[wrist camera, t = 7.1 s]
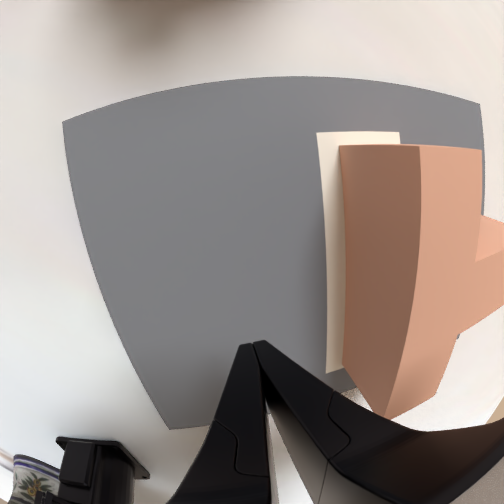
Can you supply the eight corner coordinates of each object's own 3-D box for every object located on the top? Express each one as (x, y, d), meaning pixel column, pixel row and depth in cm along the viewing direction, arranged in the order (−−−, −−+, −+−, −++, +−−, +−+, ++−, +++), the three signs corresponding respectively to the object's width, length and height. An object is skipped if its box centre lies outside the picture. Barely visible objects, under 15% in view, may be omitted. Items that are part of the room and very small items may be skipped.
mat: (455, 335, 18) (458, 338, 17) (169, 423, 15) (169, 429, 15) (474, 104, 12) (479, 104, 11) (67, 122, 9) (62, 121, 8)
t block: (458, 313, 16) (501, 346, 12) (341, 363, 15) (381, 424, 10) (475, 147, 12) (537, 157, 7) (338, 145, 11) (419, 146, 6)
